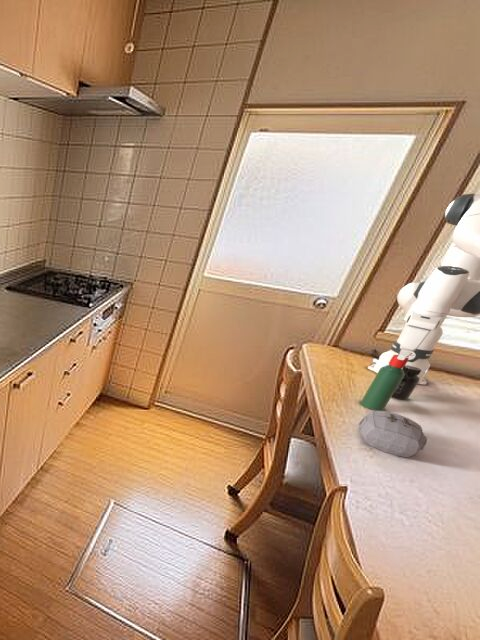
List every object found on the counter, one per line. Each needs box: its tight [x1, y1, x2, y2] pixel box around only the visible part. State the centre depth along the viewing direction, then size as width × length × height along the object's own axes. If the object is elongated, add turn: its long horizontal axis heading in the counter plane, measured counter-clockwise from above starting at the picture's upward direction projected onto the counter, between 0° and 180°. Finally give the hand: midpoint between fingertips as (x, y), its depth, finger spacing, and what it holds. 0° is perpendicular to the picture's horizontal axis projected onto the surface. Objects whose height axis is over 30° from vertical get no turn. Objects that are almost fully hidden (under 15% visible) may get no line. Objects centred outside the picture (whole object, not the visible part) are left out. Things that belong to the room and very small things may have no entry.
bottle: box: [360, 365, 405, 411], centre depth 147 cm, size 6×6×19 cm
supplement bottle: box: [391, 365, 421, 401], centre depth 158 cm, size 7×7×12 cm
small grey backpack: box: [358, 410, 428, 458], centre depth 128 cm, size 15×8×20 cm
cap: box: [389, 355, 409, 368], centre depth 143 cm, size 4×4×3 cm
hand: (401, 357), depth 142 cm, fingers open, 5 cm apart
